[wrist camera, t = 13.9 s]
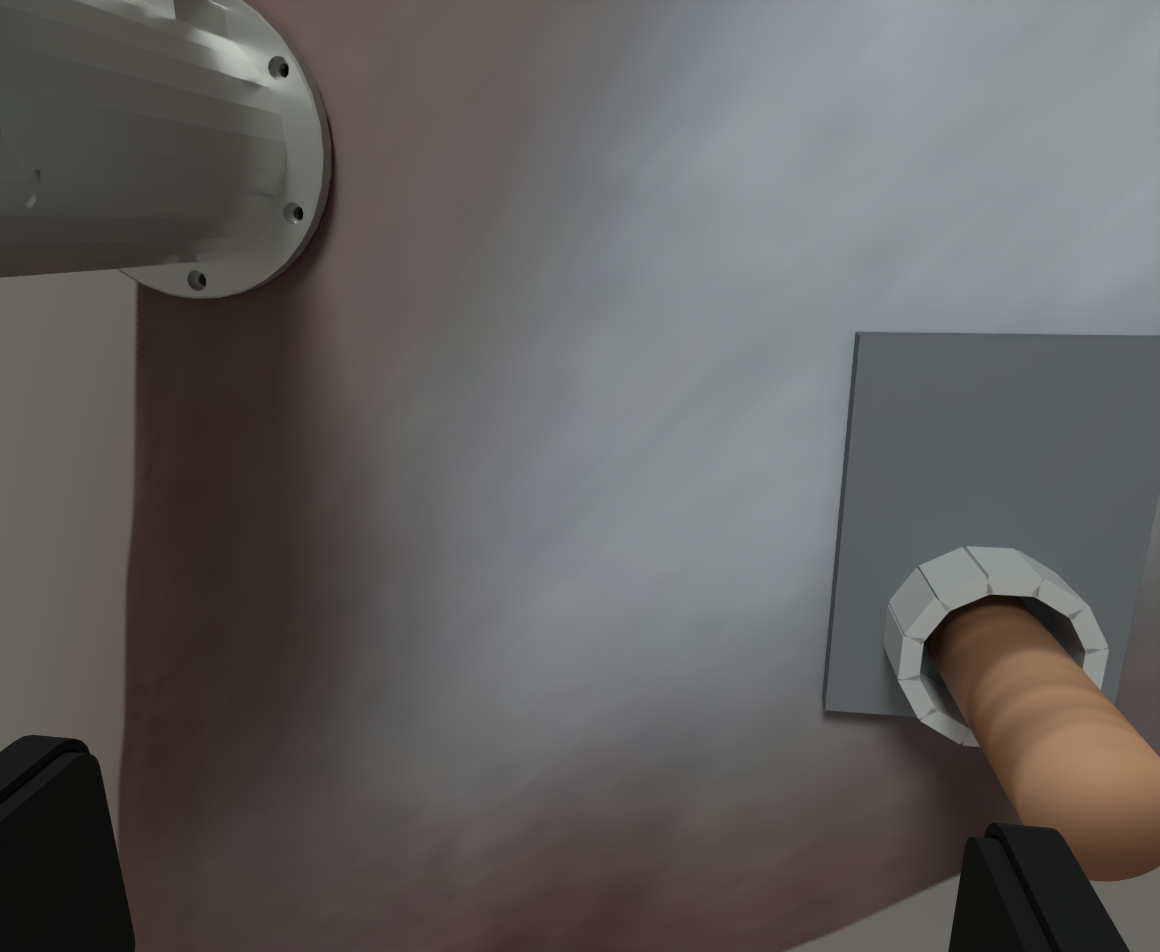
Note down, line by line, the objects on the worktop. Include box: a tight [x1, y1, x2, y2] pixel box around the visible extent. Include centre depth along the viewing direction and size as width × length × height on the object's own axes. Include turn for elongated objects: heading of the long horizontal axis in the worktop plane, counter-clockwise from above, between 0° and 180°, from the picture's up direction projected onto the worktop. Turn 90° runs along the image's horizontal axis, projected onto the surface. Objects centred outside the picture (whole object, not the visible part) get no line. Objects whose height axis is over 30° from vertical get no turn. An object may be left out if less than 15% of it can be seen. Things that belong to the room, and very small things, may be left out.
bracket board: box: [822, 332, 1160, 747], centre depth 33 cm, size 17×12×4 cm
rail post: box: [924, 594, 1160, 881], centre depth 30 cm, size 4×4×12 cm
